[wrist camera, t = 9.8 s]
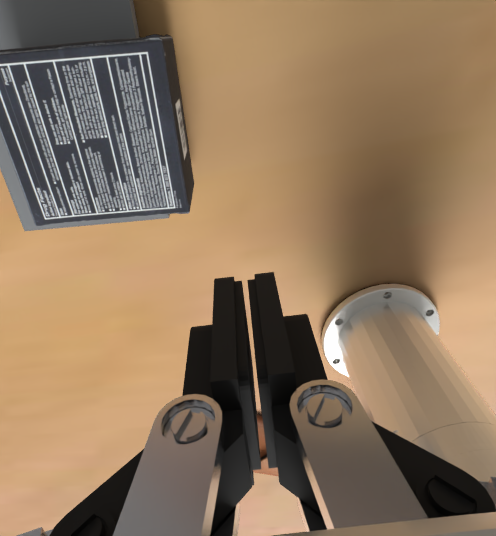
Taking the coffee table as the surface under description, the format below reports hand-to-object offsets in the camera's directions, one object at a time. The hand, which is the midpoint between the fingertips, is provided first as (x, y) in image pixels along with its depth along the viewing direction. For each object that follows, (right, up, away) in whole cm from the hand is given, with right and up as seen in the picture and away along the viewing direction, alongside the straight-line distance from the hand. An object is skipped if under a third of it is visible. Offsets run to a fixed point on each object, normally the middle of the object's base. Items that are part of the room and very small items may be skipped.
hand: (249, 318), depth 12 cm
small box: (-4, +11, +15) cm, 20 cm away
